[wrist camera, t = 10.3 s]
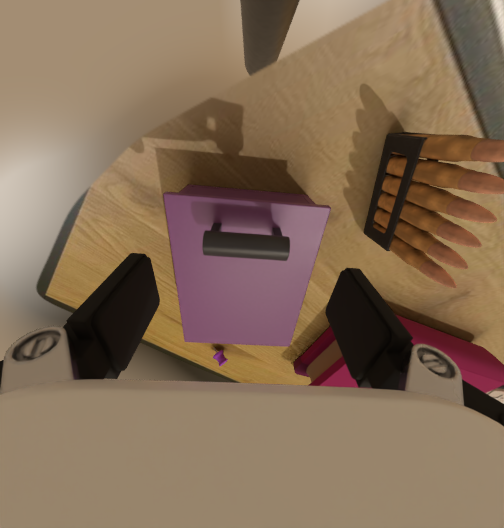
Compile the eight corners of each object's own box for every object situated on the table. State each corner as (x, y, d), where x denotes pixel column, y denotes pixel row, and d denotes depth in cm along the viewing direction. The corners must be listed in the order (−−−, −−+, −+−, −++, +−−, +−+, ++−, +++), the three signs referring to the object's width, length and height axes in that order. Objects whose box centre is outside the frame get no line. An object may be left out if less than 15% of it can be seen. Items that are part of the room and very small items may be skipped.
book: (358, 294, 31) (386, 336, 25) (477, 340, 38) (523, 382, 31) (290, 365, 42) (298, 407, 35) (392, 391, 48) (414, 431, 42)
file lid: (165, 191, 16) (138, 209, 12) (328, 205, 17) (352, 226, 13) (186, 337, 26) (174, 373, 22) (288, 342, 27) (295, 378, 23)
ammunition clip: (378, 232, 26) (462, 296, 16) (363, 233, 26) (437, 298, 16) (406, 132, 20) (569, 130, 10) (387, 133, 20) (529, 133, 10)
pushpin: (216, 344, 38) (213, 359, 35) (230, 349, 38) (229, 364, 36) (211, 350, 39) (208, 365, 36) (225, 354, 39) (223, 369, 37)
